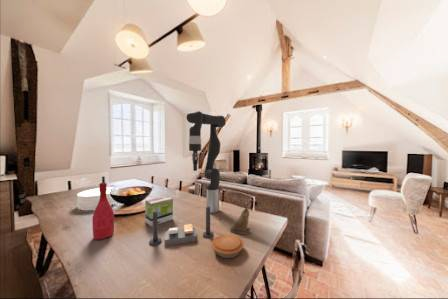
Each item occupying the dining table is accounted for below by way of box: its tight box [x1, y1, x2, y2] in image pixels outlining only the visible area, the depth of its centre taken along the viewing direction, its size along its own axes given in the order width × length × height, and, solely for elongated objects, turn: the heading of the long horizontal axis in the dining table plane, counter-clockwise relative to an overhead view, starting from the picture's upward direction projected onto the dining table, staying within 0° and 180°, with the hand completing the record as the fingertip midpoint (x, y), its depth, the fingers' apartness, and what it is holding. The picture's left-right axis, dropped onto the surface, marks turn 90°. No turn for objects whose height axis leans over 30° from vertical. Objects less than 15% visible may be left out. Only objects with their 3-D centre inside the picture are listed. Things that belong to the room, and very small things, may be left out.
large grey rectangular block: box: [164, 227, 197, 246], centre depth 91 cm, size 16×9×4 cm, turn 105°
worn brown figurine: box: [229, 204, 251, 236], centre depth 98 cm, size 12×6×18 cm, turn 68°
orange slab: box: [183, 223, 194, 234], centre depth 92 cm, size 4×6×1 cm
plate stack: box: [76, 186, 119, 211], centre depth 143 cm, size 28×28×12 cm
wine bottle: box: [92, 182, 115, 240], centre depth 93 cm, size 10×10×30 cm
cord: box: [148, 211, 162, 247], centre depth 87 cm, size 6×6×16 cm
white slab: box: [168, 227, 179, 234], centre depth 90 cm, size 4×6×1 cm
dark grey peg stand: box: [202, 205, 214, 239], centre depth 94 cm, size 6×6×16 cm
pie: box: [211, 234, 244, 259], centre depth 81 cm, size 15×16×5 cm
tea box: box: [144, 195, 174, 228], centre depth 112 cm, size 15×10×15 cm
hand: (195, 170), depth 106 cm, fingers closed
